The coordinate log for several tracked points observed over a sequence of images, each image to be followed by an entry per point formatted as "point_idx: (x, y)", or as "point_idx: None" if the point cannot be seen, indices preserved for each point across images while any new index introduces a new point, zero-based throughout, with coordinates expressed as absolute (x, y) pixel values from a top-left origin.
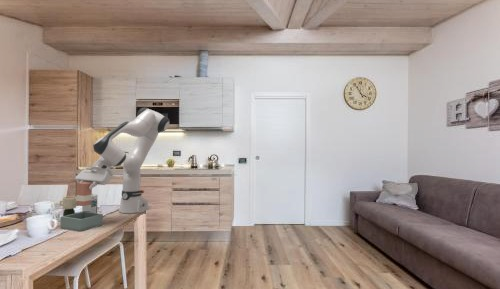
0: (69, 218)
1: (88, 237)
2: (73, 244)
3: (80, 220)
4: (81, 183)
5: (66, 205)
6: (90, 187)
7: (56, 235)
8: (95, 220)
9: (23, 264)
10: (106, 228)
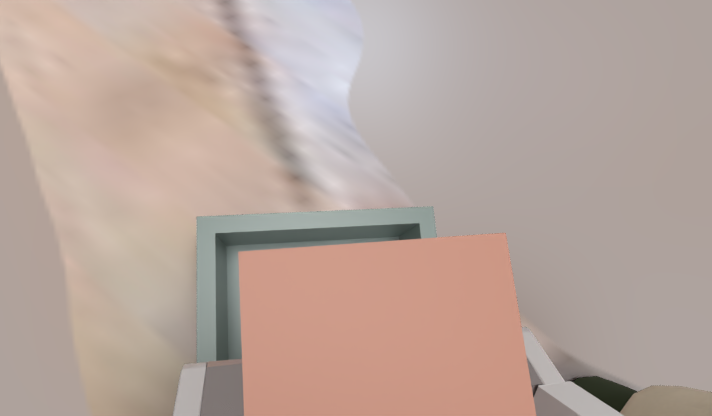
0: (335, 211)
1: (42, 163)
2: (18, 32)
3: (206, 218)
4: (354, 244)
5: (662, 398)
6: (182, 402)
7: (275, 109)
8: None
9: None
10: (96, 394)
